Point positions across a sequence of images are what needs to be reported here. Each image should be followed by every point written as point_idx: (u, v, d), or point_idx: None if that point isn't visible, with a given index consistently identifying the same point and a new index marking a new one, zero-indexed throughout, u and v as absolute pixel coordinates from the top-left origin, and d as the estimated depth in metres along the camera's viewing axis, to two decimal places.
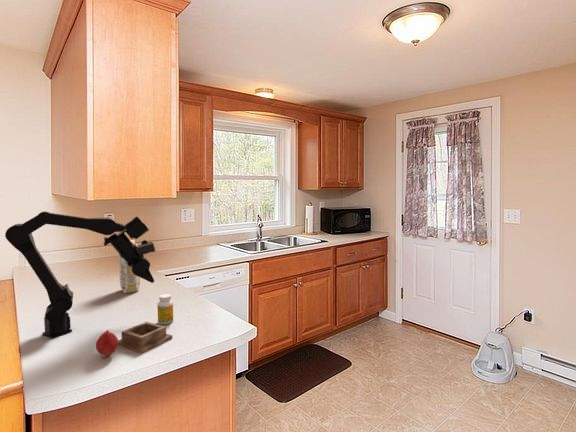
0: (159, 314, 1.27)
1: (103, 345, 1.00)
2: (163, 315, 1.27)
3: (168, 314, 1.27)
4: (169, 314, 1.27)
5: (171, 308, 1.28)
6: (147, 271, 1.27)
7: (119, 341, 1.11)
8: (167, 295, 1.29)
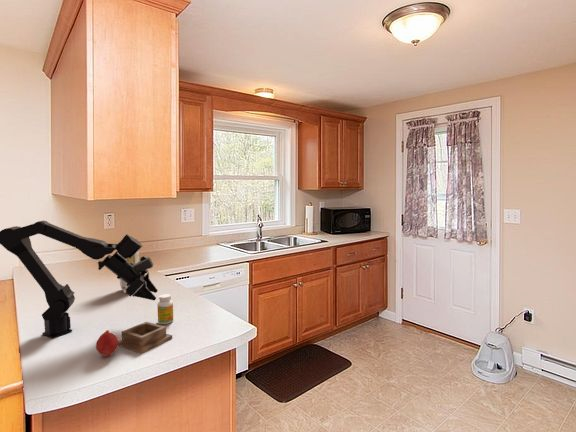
0: (159, 314, 1.27)
1: (103, 345, 1.00)
2: (163, 315, 1.27)
3: (168, 314, 1.27)
4: (169, 314, 1.27)
5: (171, 308, 1.28)
6: (145, 290, 1.21)
7: (119, 341, 1.11)
8: (167, 295, 1.29)
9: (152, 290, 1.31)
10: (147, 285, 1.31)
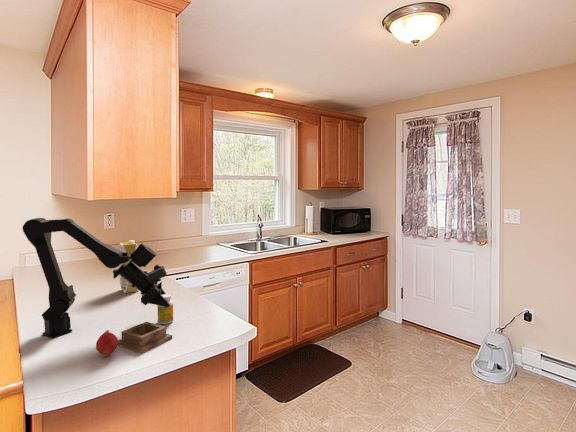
0: (159, 314, 1.27)
1: (103, 345, 1.00)
2: (163, 315, 1.27)
3: (168, 314, 1.27)
4: (169, 314, 1.27)
5: (171, 308, 1.28)
6: (159, 297, 1.24)
7: (119, 341, 1.11)
8: (167, 295, 1.29)
9: None
10: None
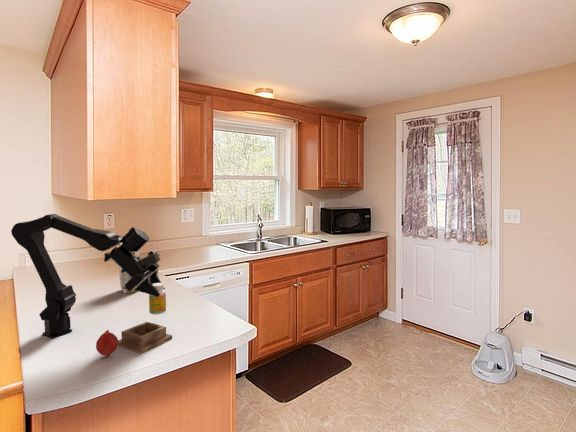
0: (150, 303, 1.19)
1: (103, 345, 1.00)
2: (153, 305, 1.18)
3: (159, 304, 1.18)
4: (160, 305, 1.18)
5: (162, 298, 1.19)
6: (148, 285, 1.16)
7: (119, 341, 1.11)
8: (160, 284, 1.20)
9: None
10: None
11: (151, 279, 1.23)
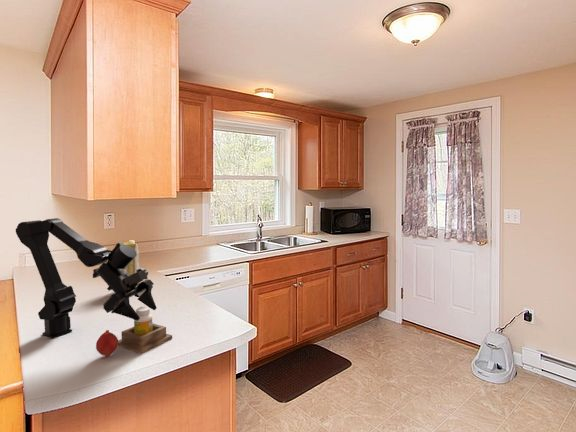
0: (134, 329, 1.11)
1: (103, 345, 1.00)
2: (136, 331, 1.10)
3: (142, 331, 1.10)
4: (143, 331, 1.10)
5: (146, 324, 1.11)
6: (126, 307, 1.06)
7: (119, 341, 1.11)
8: (145, 308, 1.12)
9: (151, 307, 1.17)
10: (146, 300, 1.17)
11: (144, 296, 1.17)
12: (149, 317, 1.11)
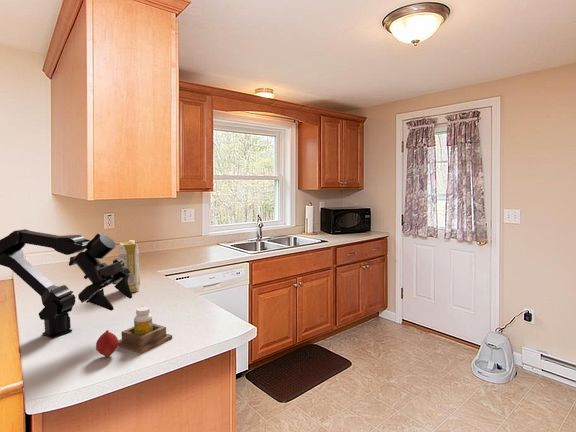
0: (134, 329, 1.11)
1: (103, 345, 1.00)
2: (136, 331, 1.10)
3: (142, 331, 1.10)
4: (143, 331, 1.10)
5: (146, 324, 1.11)
6: (100, 298, 1.10)
7: (119, 341, 1.11)
8: (145, 308, 1.12)
9: (126, 295, 1.21)
10: (123, 289, 1.21)
11: (120, 285, 1.21)
12: (149, 317, 1.11)
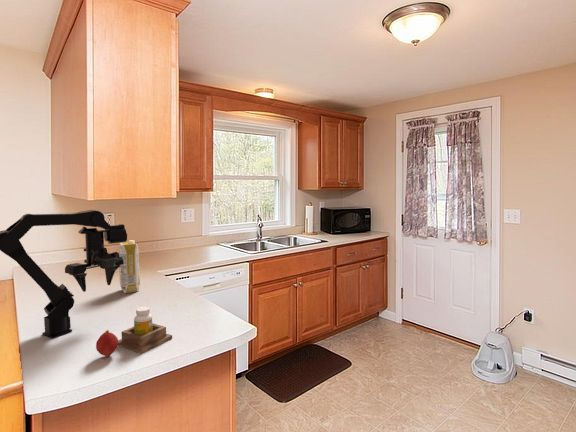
0: (134, 329, 1.11)
1: (103, 345, 1.00)
2: (136, 331, 1.10)
3: (142, 331, 1.10)
4: (143, 331, 1.10)
5: (146, 324, 1.11)
6: (80, 278, 1.21)
7: (119, 341, 1.11)
8: (145, 308, 1.12)
9: (107, 280, 1.31)
10: (108, 273, 1.31)
11: (108, 269, 1.31)
12: (149, 317, 1.11)
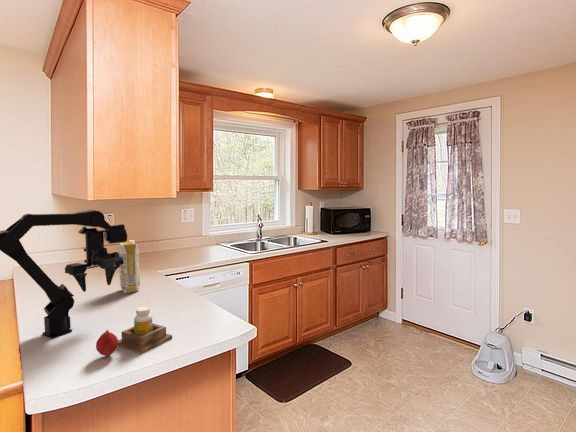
0: (134, 329, 1.11)
1: (103, 345, 1.00)
2: (136, 331, 1.10)
3: (142, 331, 1.10)
4: (143, 331, 1.10)
5: (146, 324, 1.11)
6: (80, 278, 1.21)
7: (119, 341, 1.11)
8: (145, 308, 1.12)
9: (107, 280, 1.31)
10: (108, 273, 1.31)
11: (108, 269, 1.31)
12: (149, 317, 1.11)
